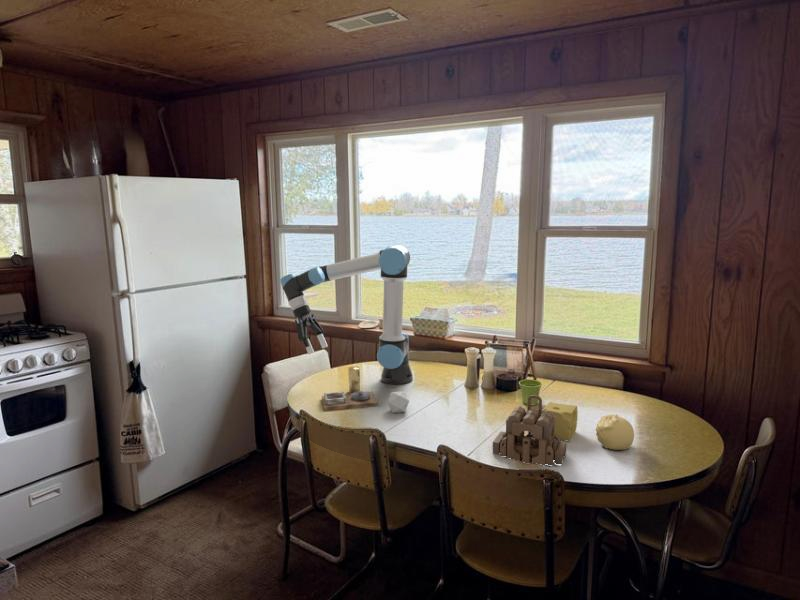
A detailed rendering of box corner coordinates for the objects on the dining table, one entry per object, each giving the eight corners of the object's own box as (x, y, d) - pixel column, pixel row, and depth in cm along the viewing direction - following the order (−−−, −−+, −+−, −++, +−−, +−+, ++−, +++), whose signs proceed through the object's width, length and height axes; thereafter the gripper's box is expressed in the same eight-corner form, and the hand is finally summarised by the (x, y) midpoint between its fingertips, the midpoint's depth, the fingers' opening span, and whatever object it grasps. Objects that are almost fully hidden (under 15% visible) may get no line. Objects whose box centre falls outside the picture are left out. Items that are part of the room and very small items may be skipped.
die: (404, 418, 210) (414, 395, 213) (384, 408, 210) (395, 385, 212) (400, 417, 218) (410, 396, 221) (381, 408, 218) (392, 386, 220)
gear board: (372, 394, 235) (372, 385, 235) (377, 405, 222) (377, 396, 221) (322, 399, 231) (321, 389, 230) (324, 410, 217) (324, 400, 217)
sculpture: (596, 437, 188) (597, 407, 187) (633, 442, 184) (634, 412, 182) (594, 450, 178) (595, 419, 176) (633, 456, 173) (635, 424, 172)
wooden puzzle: (490, 456, 175) (491, 402, 172) (502, 439, 188) (503, 388, 185) (559, 470, 165) (561, 412, 162) (567, 451, 178) (569, 397, 175)
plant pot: (527, 408, 216) (528, 387, 215) (513, 401, 225) (514, 381, 223) (546, 404, 220) (546, 384, 219) (531, 397, 228) (532, 378, 227)
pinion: (359, 389, 243) (358, 366, 241) (360, 393, 238) (360, 369, 236) (348, 390, 242) (347, 366, 240) (349, 394, 237) (349, 370, 235)
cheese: (569, 442, 184) (570, 414, 183) (538, 436, 190) (539, 409, 188) (577, 431, 193) (578, 405, 192) (547, 425, 199) (548, 400, 197)
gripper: (306, 307, 255) (324, 348, 254) (278, 313, 231) (298, 358, 230) (319, 301, 252) (337, 342, 251) (292, 307, 229) (312, 352, 228)
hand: (318, 350), depth 241 cm, fingers open, 13 cm apart
